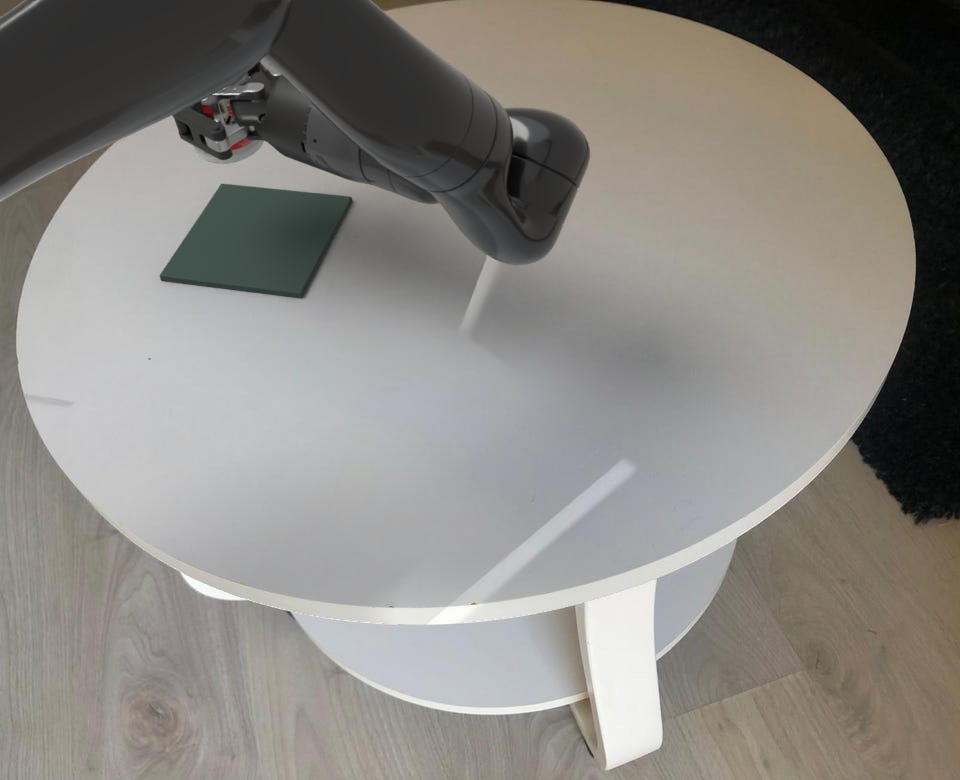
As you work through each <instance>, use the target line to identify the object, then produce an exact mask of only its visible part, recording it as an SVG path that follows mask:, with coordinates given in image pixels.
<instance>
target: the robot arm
mask: <svg viewBox="0 0 960 780" xmlns="http://www.w3.org/2000/svg"><path fill="white" fill-rule="evenodd" d="M247 72H248V76H249V79H248V80H247V81H246V82H244V83H242V84H240V85H238V86H228V85H230V84H231V83H233V82H235V81H236V80H238V79H239V78H241V77H242V76H243V75H245V74H246V73H247ZM225 100H230V105H231V108H232V112H233V115H234V117H232V116H231V115H230V114H229V112H228V109H227V106H226V103H225ZM201 105H209V106H210V107H211V109H212V112H213V113H203V110H202V107H201ZM169 117H172V118H173V120H174V122H175V126H176V128H177V130H178V135H179V138H180V139H181V140H183V141H184V142H186V143H188V144H190V145H192V146H193V145H194V146H195V147H197V148H199V149H201V150H203V151H205V152H206V153H208V154H210V155H212V156H214V157H216V158H218V159H219V160H227V159H230V158H231V157H232V156H233V152H232V149H231V146H233V145H234V144H236V143H238V142H239V141H241V140H242V139H244V138H245V139H248V140H262V141H264V142H266V143H268V144H269V145H270V146H272V148H273V149H275V150H276V151H277V152H278V153H279V154H281V155H282V156H284V157H286V158H288V159H291V160H294V161H297V162H299V163H301V164H304V165H307V166H310V167H312V168H314V169H315V168H316V169H318V170H321V171H324V172H326V173H329V174H331V175H334V176H336V177H339V178H342V179H345V180H348V181H351V182H355V183H360V184H365V185H369V186H373V187H376V188H379V189H382V190H384V191H387V192H390V193H392V194H396V195H397V196H400V197H403V198H406V199H409V200H412V201H414V202H417V203H420V204H425V205H437V204H439V205H440V206H441V207H442V209H443V210H444V211H445V212H446V213H447V215H448V216H449V218H450V219H451V221H452V223H453V224H454V225H455V226H456V228H457V229H458V230H459V232H460V233H461V234H462V235H463V236H464V237H465V238H466V239H467V240H468V241H469V242H470V243H471V244H472V245H473V246H474V247H475V248H476V249H478V250H479V251H480V252H481V253H483V254H484V255H486V256H488V257H489V258H491V259H493V260H495V261H498V262H500V263H502V264H506V265H511V266H527V265H530V264H534V263H537V262H539V261H542V260H543V259H544V258H546V256H548V255H549V254H550V252H551V251H552V250H553V249H554V247H555V245H556V243H557V242H558V240H559V236H560V234H561V232H562V230H563V227H564V225H565V222H566V220H567V217H568V215H569V213H570V210H571V208H572V205H573V203H574V201H575V198H576V197H577V193H578V192H579V190H578V189H580V187H581V185H582V182H583V179H584V177H585V175H586V172H587V170H588V168H589V164H590V159H591V148H590V144H589V141H588V139H587V138H586V135H585V134H584V132H583V131H582V130H581V129H580V127H579V126H577V125H576V124H575V122H573V121H572V120H571V119H570V118H567V117H566V116H563V115H562V114H560V113H557V112H554V111H551V110H547V109H542V108H535V107H516V106H515V107H504V106H503V105H502V104H501V103H500V102H499V101H498V100H497V99H495V98H494V97H493V95H491V94H489V93H488V92H487V91H486V90H485V89H483V88H482V87H480V86H479V85H478V84H477V83H475V82H474V81H473V80H471V79H470V78H469V77H468V76H466V75H465V74H464V73H462V72H461V71H460V70H459V69H458V68H456V67H454V66H453V65H452V64H451V63H450V62H448V61H447V60H445V59H444V58H443V57H441V56H440V55H439V54H437V53H436V52H435V51H433V50H432V49H431V48H429V46H427V45H426V44H424V43H423V42H422V41H420V40H419V39H418V38H417V37H416V36H414V35H413V34H412V33H410V31H408V30H407V29H406V28H404V27H403V25H401V24H399V23H398V22H397V21H396V20H395V19H394V18H392V17H391V16H390V15H389V14H387V12H385V11H384V10H383V9H382V8H380V7H379V6H378V5H377V4H376V3H375V2H374V1H372V0H23V1H21V2H19V3H18V4H17V5H16V6H14V7H13V8H11V9H10V10H9V11H7V12H6V13H4V14H3V15H1V16H0V203H1V202H3V201H4V200H6V199H8V198H10V197H11V196H13V195H15V194H16V193H18V192H20V191H21V190H23V189H25V188H26V187H28V186H30V185H33V184H34V183H36V182H38V181H39V180H42V179H43V178H45V177H46V176H48V175H50V174H52V173H54V172H57V171H58V170H60V169H62V168H64V167H66V166H68V165H70V164H72V163H74V162H77V161H78V160H81V159H83V158H85V157H86V156H88V155H91V154H93V153H95V152H97V151H99V150H102V149H104V148H106V147H108V146H110V145H113V144H114V143H116V142H118V141H121V140H123V139H125V138H127V137H129V136H131V135H133V134H136V133H137V132H140V131H142V130H145V129H147V128H148V127H150V126H153V125H155V124H158V123H159V122H161V121H163V120H165V119H167V118H169ZM194 146H193V147H194Z"/></svg>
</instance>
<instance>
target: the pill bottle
mask: <svg viewBox="0 0 960 780" xmlns="http://www.w3.org/2000/svg"><path fill="white" fill-rule="evenodd" d="M249 78H250V77H249V76H248V72H247V73H246V74H245V75H243V76H242V77H241V78H239V79H238V80H236V81H235V82H233V83H231V84H230V85H228V86H238V85H240V84H242V83H244V82H246V81H247V80H248V79H249ZM225 103H226V106H227V109H228V112H229V114H230V115H231V116H232V117H234V115H233V112H232V108H231V105H230V100H225ZM201 107H202V110H203V113H213V112H212V109H211V107H210V106H209V105H201ZM264 142H265V141H262V140H248V139H245V138H244V139H242V140H241V141H239V142H238V143H236V144H234V145H233V146H231V149H232V152H233V156H232V157H231V158H230V159H227V160H219V159H218V158H216V157H214V156H212V155H210V154H208V153H206V152H205V151H203V150H201V149H199V148H197V147H195V146H194V145H192V146H193V148H194V151H195V153H196V154H197V155H198V157H199V158H200V159H202V160H203V161H205V162H207V163H212V164H218V165H230V164H235V163H238V162H241V161H243V160H246V159H248V158H250V157H252V156H253V155H254V154H256V153H257V152H258V151H260V149H261V148H262V147H263V145H264Z"/></svg>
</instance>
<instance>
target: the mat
mask: <svg viewBox="0 0 960 780" xmlns="http://www.w3.org/2000/svg"><path fill="white" fill-rule="evenodd" d="M352 203H353V197H352V196H351V195H350V196H349V195H340V194H339V195H338V194H328V193H321V192H320V193H318V192H309V191H299V190H290V189H279V188H269V187H258V186H251V185H241V184H231V183H229V184H228V183H220V184H219V187H218V188H217V189H216V191H215V192H214V194H213V196H212V197H211V198H210V200H209V201H208V203H207V204H206V206H205V207H204V208H203V210H202V212H201V213H200V214H199V216H198V218H197V219H196V220H195V222H194V223H193V225H192V226H191V228H190V230H189V231H188V232H187V234H186V235H185V237H184V238H183V240H182V241H181V243H180V244H179V245H178V247H177V249H176V250H175V252H174V253H173V254H172V256H171V257H170V259H169V260H168V262H167V264H166V265H165V267H164V268H163V269H162V271H161V272H160V274H159V279H160V281H162V282H168V283H169V282H170V283H177V284H185V285H193V286H194V285H195V286H201V287H211V288H217V289H218V288H219V289H224V290H233V291H240V292H241V291H242V292H249V293H257V294H265V295H273V296H279V297H280V296H281V297H287V298H288V297H289V298H297V299H302V298H303V296H304V295H305V292H306V290H307V289H308V287H309V284H310V283H311V281H312V279H313V277H314V276H315V273H316V272H317V270H318V268H319V265H320V264H321V262H322V260H323V259H324V256H325V254H326V253H327V250H328V249H329V247H330V245H331V243H332V241H333V239H334V237H335V235H336V234H337V232H338V229H339V228H340V226H341V225H342V222H343V220H344V218H345V216H346V215H347V213H348V212H349V211H348V210H349V209H350V207H351V205H352Z"/></svg>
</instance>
